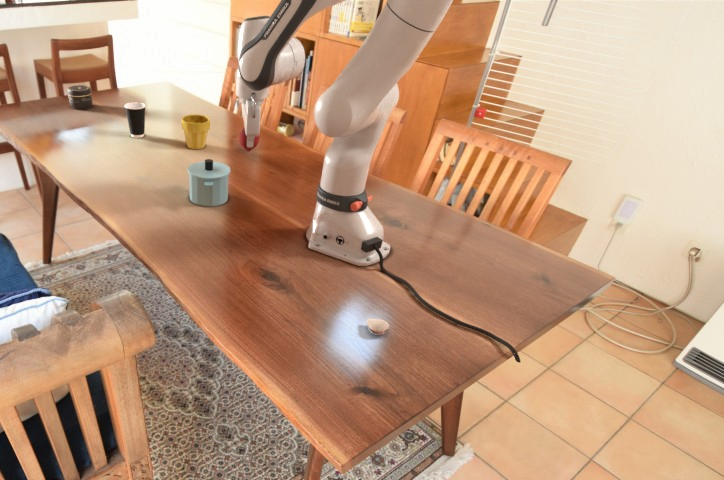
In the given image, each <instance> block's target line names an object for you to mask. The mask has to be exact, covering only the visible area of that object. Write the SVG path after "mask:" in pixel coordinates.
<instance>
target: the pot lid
mask: <svg viewBox="0 0 724 480" xmlns="http://www.w3.org/2000/svg"><path fill="white" fill-rule="evenodd" d="M186 170H187V171H186V172H187V173H188V175H189V174H190V175H191V176H193V177H196V178H200V179H219V178H223V177H226V176H227V175H230V174H231V167H230V166H229V165H228V164H226V163H223V162H220V161H214V160H213V159H211V158H206V159H205V160H202V161H197V162H193V163H191V164H189V165H188V166H187V169H186Z"/></svg>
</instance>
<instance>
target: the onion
mask: <svg viewBox="0 0 724 480" xmlns="http://www.w3.org/2000/svg"><path fill="white" fill-rule="evenodd" d="M260 137H261V136H260V135H259V136H255V138H254V144H253V147H247V136H246V133H245V126H244V127H243V128H242V129H241V130H240V132H239V135H238V143H239V144H240V146H241V148H242V149H244V150H245V152H248V153H249V152H251V151H252V150H254V149H255V148H256V147H257V146H258V145H259V143H260V139H261V138H260Z"/></svg>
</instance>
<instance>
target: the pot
mask: <svg viewBox="0 0 724 480" xmlns="http://www.w3.org/2000/svg"><path fill="white" fill-rule="evenodd" d="M229 175H230V174H229ZM229 175H227V176H226V177H223V178H219V179H200V178H196V177H193V176H191V175H190V174H189V173H188V181H189V182H188V191H189V201H191V202H192V203H193V204H194V205H197V206H201V207H218V206H221V205H223V204H225V203H227V201H228V199H229V177H230V176H229Z"/></svg>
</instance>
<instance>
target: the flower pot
mask: <svg viewBox="0 0 724 480" xmlns="http://www.w3.org/2000/svg"><path fill="white" fill-rule="evenodd" d="M181 129H182V131H183V134H184V139H185V143H186V147H187V148H189V149H192V150H202V149H204V148H205V146H206V142H207V137H208V132H209V131H210V129H211V118H210V117H209V116H207V115H204V114H187V115H184V116H182V118H181Z"/></svg>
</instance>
